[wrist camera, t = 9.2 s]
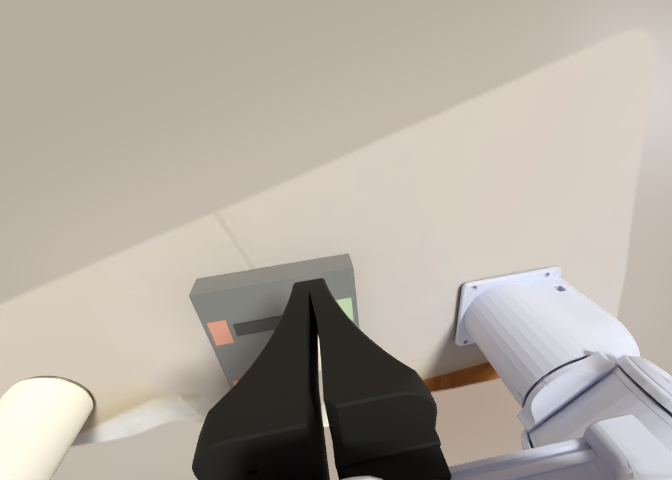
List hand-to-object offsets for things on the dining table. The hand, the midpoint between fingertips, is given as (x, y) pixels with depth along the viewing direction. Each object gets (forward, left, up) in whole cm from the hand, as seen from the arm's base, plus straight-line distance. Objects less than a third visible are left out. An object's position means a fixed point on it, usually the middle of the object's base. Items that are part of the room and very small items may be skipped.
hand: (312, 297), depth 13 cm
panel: (+3, +12, -9) cm, 15 cm away
